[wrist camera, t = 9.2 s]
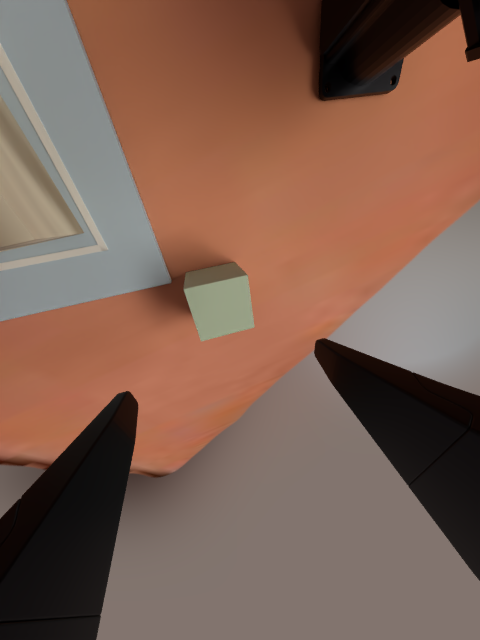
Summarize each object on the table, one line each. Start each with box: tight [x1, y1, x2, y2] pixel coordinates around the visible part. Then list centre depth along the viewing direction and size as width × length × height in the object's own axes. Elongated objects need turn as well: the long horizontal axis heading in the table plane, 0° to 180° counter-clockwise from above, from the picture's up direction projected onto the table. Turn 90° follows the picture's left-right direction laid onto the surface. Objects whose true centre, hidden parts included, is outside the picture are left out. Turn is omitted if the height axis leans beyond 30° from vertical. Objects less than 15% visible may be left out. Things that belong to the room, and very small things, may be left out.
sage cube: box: [183, 262, 254, 341], centre depth 17 cm, size 5×5×5 cm
